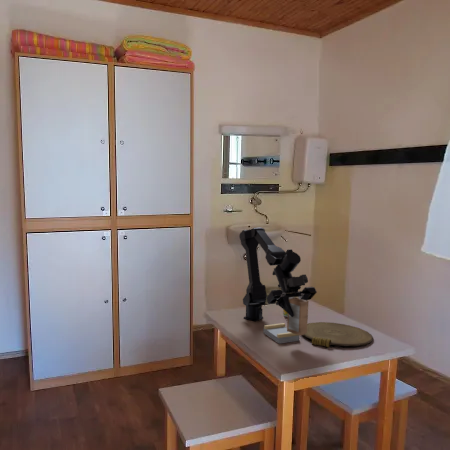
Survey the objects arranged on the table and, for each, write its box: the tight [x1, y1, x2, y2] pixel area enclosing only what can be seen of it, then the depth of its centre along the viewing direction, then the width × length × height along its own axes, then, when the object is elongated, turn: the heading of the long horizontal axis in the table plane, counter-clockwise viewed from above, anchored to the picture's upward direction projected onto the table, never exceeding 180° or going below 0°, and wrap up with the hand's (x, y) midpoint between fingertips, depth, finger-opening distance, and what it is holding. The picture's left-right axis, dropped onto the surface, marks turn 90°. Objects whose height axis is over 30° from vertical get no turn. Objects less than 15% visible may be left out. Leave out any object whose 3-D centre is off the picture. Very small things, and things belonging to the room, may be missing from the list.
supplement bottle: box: [282, 297, 295, 318], centre depth 195 cm, size 5×5×10 cm
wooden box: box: [286, 297, 309, 337], centre depth 158 cm, size 6×4×12 cm
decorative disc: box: [302, 321, 374, 348], centre depth 172 cm, size 29×3×30 cm
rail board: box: [262, 322, 300, 344], centre depth 169 cm, size 12×9×3 cm
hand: (299, 315), depth 156 cm, fingers closed on wooden box, 5 cm apart
